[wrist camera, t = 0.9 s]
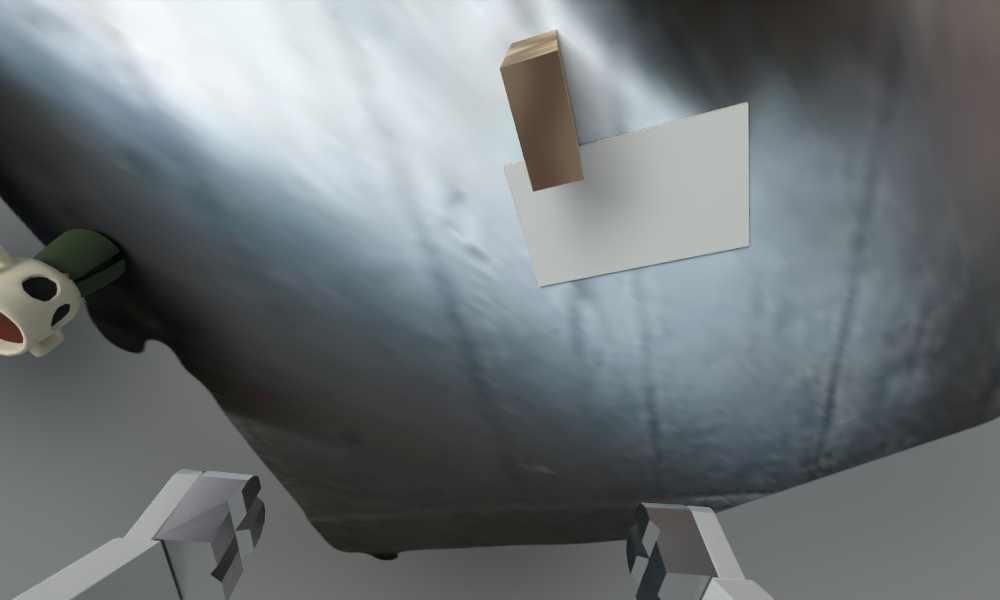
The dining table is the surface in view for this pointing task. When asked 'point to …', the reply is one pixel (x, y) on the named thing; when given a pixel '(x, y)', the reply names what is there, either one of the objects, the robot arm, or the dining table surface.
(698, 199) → the felt mat
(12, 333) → the character mug
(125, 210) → the dining table surface
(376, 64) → the dining table surface
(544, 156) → the oak slab
